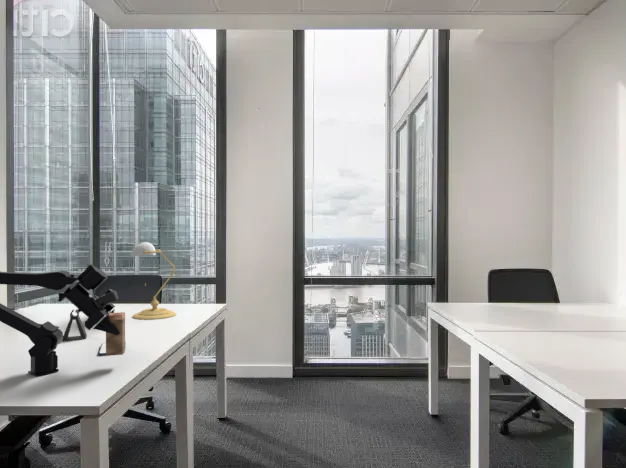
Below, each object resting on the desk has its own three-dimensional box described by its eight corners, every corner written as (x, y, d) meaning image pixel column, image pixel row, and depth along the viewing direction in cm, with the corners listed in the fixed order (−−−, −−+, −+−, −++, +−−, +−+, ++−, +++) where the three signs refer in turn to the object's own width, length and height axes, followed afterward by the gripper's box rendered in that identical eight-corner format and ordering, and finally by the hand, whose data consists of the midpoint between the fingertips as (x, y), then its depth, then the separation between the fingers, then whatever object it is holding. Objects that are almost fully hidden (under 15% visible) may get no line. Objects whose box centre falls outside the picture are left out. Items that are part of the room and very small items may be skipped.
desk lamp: (132, 312, 245) (132, 241, 246) (174, 309, 253) (174, 241, 254) (129, 322, 216) (129, 242, 217) (177, 319, 225) (177, 242, 225)
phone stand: (87, 336, 188) (87, 308, 188) (86, 339, 182) (86, 310, 182) (63, 338, 184) (63, 309, 184) (61, 341, 179) (61, 312, 179)
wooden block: (105, 355, 140) (105, 315, 140) (109, 351, 145) (108, 313, 145) (122, 354, 141) (122, 314, 142) (125, 350, 146) (125, 312, 146)
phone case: (124, 355, 160) (125, 344, 174) (124, 351, 160) (125, 340, 174) (97, 358, 156) (101, 346, 171) (97, 353, 156) (101, 342, 171)
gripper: (96, 285, 133) (134, 319, 136) (108, 279, 151) (142, 309, 154) (67, 312, 131) (107, 346, 134) (83, 303, 149) (118, 333, 152)
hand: (120, 332), depth 144 cm, fingers closed on wooden block, 5 cm apart
